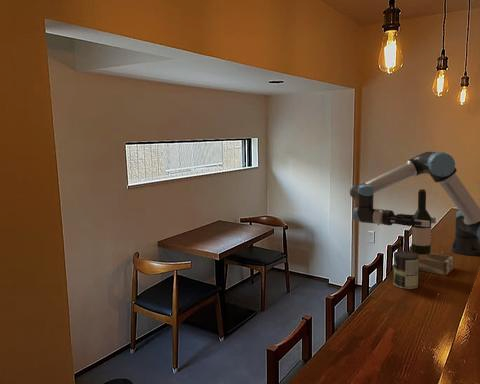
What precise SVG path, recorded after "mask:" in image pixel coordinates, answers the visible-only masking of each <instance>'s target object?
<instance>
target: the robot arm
mask: <svg viewBox="0 0 480 384" xmlns="http://www.w3.org/2000/svg"><path fill="white" fill-rule="evenodd" d="M457 171H458V170H457V167H456V161H455V159H454V157H452V155H450V154H449V153H446V152H443V151H424V152H422V153H420V154H418V155H416V156H414V157H412V158H410V159H408V160H406V162H405V163H404V164H401V165H399V166H397V167H394V168H393V169H390V170H389V171H386V172H384V173H382V174H379V175H377V176H376V177H374V178H371V179H369V180H367V181H365V182H362V183H360V184H359V185H358V184H356V185H352V186H351V187H350V189H349V196H350V197H351V198H352V199H354V200H356V201H357V206H356V207H355V208H354V209H353V213H352V218H353V220H354V221H355V222H359V223H365V224H374V225H375V224H377V225H378V226H380V225H385V226H392V225H400V226H407V227H411V228H412V227H414V226H423V227H430V221H425V220H412V217H413V216H414V214H407V213H406V214H405V213H396V214H395V212H394V211H393V210H389V209H383V208H382V209H380V208H374V195H375V194H376V193H377V192H380V191H381V190H384V189H386V188H389V187H390V186H393V185H395V184H397V183H400V182H402V181H404V180H406V179H408V178H411V177H417V176H420V175H423V174H427V175H429V176H430V177H431V178H432V180H433V182H435V183H437V184H440V186H441V188H442V189H444V191H445V193H446V194H447V195H448V197H449V198H450V199H451V201H452V202H453V204H454V206H455V207H456V208H457V210H458V211H456V214H455V225H454V226H455V230H454V231H455V233H454V239H453V241H452V244H451V246H450V249H451V250H450V251H451V252H453V253H456V254H459V255H464V256H465V255H466V256H478V255H480V206H479V205H478V203H477V202H476V201H475V199H474V198H473V197H472V195H471V194H470V192H469V191H468V189H467V188H466V186H465V185H464V184H463V182H462V181H461V179H460V178H459V176H458V175H457ZM430 217H431V224H436V223H437V222H436V221H437V217H432V216H430Z"/></svg>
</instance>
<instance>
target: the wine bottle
mask: <svg viewBox="0 0 480 384" xmlns="http://www.w3.org/2000/svg"><path fill="white" fill-rule="evenodd" d="M417 197H418V198H417V210H416V211H415V213H414V214H413V215H414V216H413V217H412V220H425V221H430V227H423V226H414V227H411V252H414V253H417V254H418V255H420V256H421V255H422V256H423V255H426V254H430V253H432V252H431V251H432V249H431V247H432V246H431V245H432V244H431V242H432V241H431V239H432V223H431V217H432V216H431V215H430V214H429V212H428V210H427V190H426V189H424V188H423V189H422V188H419V189H418V192H417Z"/></svg>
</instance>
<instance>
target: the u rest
mask: <svg viewBox="0 0 480 384" xmlns="http://www.w3.org/2000/svg"><path fill="white" fill-rule="evenodd" d="M425 255H426V256H425V258H424V257H419V261H418V271H421V272H427V273H433V274H438V275H442V276H447V275H448V274H449V273H450V272H451V271H452V270H454V267H455V265H454V263H455V260H454V259H455V256H454V255H453V256H452V255H447V254H440V253H434V252H430V254H425Z"/></svg>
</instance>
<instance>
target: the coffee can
mask: <svg viewBox="0 0 480 384" xmlns="http://www.w3.org/2000/svg"><path fill="white" fill-rule="evenodd" d="M419 258H420V254H417V253H414V252H412V251H408V250H398V251H395V252H393V283H392V284H393V286H395V287H397V288H400V289H406V290H412V289H417V288H418V287H419Z"/></svg>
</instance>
